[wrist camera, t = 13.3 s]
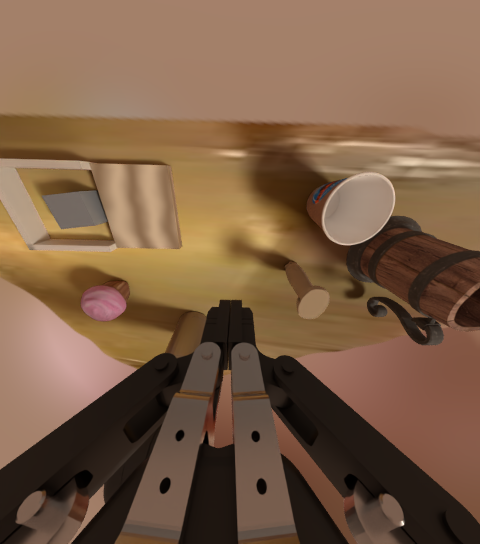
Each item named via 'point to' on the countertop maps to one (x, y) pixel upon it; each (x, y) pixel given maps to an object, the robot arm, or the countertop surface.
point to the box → (10, 190)
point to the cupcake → (105, 300)
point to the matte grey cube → (76, 209)
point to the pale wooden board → (139, 204)
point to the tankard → (420, 278)
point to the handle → (306, 292)
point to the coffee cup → (352, 207)
